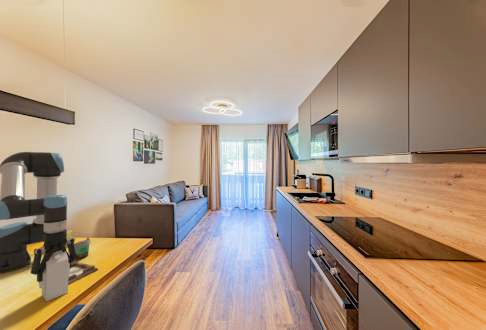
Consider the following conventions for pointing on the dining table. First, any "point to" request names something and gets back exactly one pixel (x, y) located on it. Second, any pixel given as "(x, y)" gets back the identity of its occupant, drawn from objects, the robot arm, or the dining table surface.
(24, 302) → the dining table surface
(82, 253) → the food container
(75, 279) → the brown picture frame
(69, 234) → the cheese
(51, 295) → the milk carton
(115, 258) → the dining table surface
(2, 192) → the robot arm
